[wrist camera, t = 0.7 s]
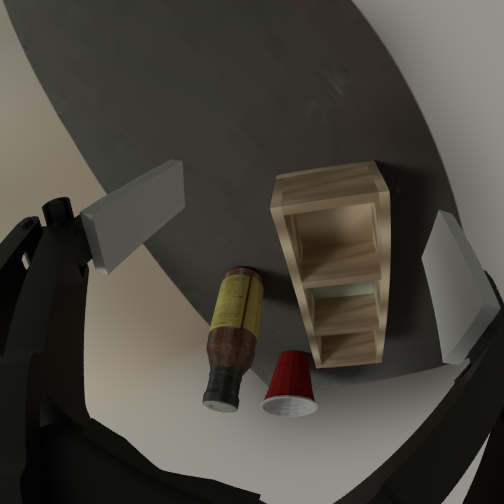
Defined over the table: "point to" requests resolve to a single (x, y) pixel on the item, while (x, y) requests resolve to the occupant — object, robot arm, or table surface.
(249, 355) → the sauce bottle
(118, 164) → the table surface
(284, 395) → the plastic cup
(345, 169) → the wooden compartment box
